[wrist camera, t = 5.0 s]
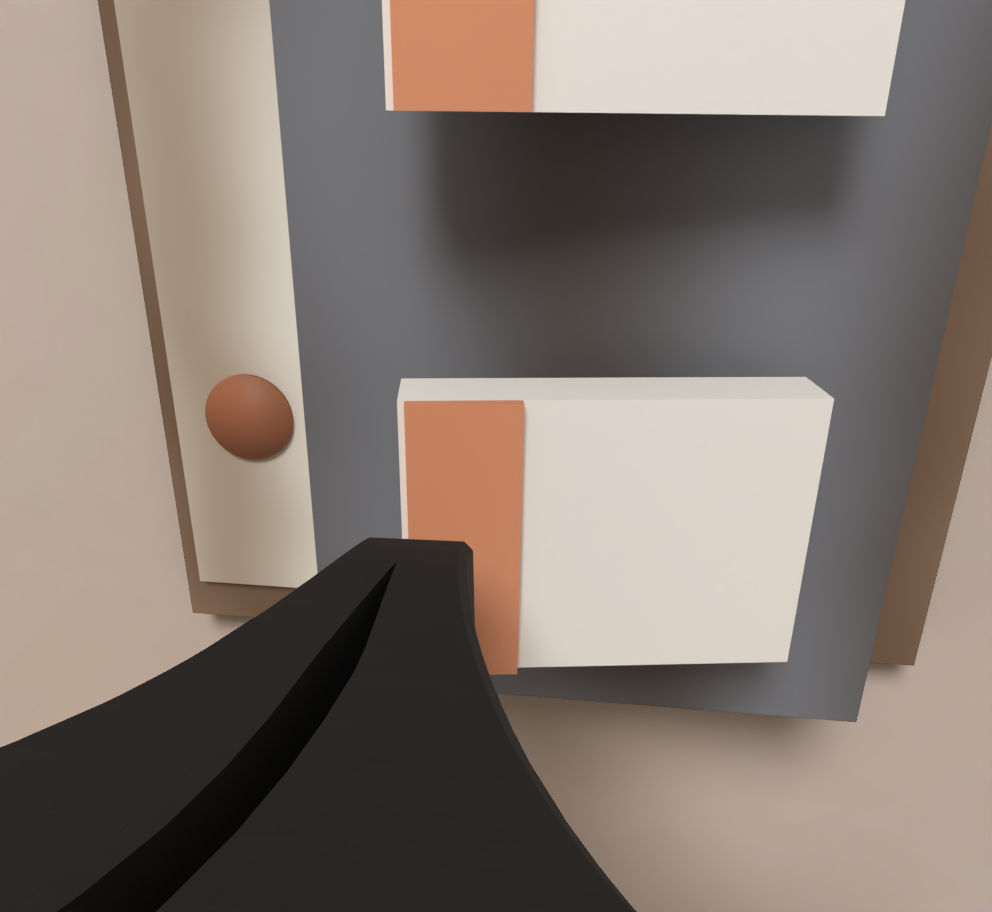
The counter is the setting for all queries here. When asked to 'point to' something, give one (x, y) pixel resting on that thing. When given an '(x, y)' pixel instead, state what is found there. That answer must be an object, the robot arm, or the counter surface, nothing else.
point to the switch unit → (551, 300)
